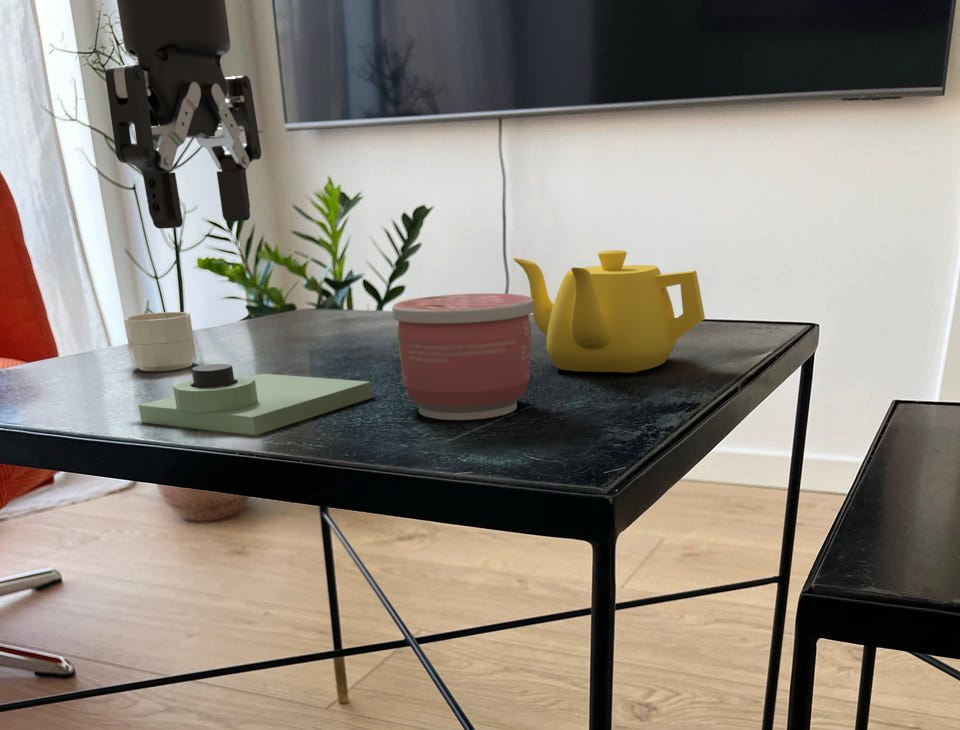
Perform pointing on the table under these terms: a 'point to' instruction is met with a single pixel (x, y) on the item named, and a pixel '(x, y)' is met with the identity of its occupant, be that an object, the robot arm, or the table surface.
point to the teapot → (613, 314)
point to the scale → (254, 403)
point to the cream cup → (161, 341)
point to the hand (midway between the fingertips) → (204, 224)
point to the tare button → (213, 375)
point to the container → (465, 353)
